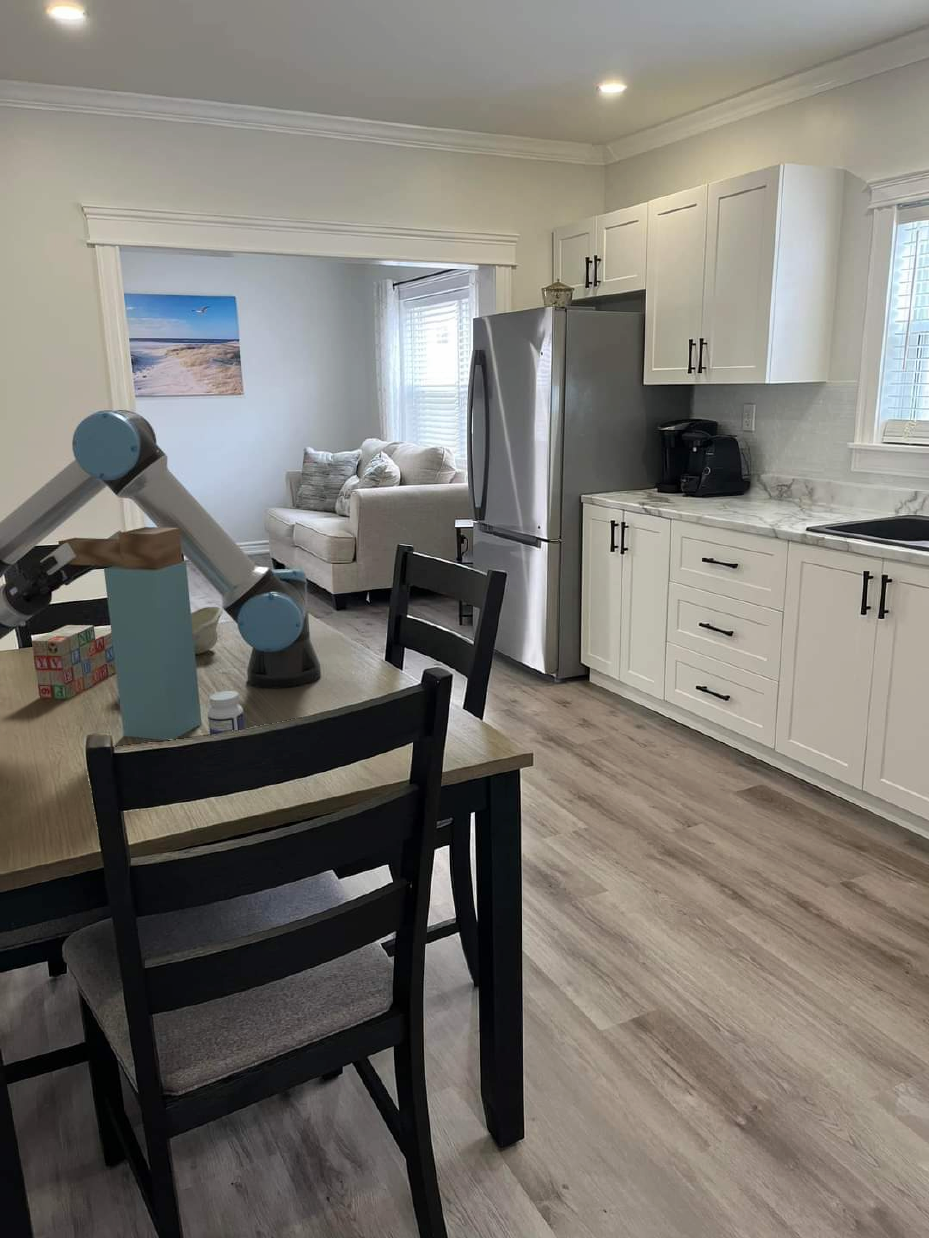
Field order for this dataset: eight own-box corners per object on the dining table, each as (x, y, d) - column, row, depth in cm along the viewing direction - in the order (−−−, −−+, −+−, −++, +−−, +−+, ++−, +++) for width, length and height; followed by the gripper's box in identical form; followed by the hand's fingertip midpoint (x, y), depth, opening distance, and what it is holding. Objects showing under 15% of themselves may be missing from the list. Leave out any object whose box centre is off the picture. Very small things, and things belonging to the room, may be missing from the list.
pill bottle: (232, 742, 160) (227, 687, 157) (253, 749, 156) (249, 693, 154) (204, 752, 155) (199, 696, 153) (225, 760, 152) (220, 702, 150)
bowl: (159, 649, 220) (155, 608, 218) (219, 641, 226) (215, 601, 224) (168, 664, 207) (163, 621, 205) (231, 656, 213) (228, 613, 210)
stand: (201, 723, 169) (185, 561, 162) (172, 740, 161) (154, 570, 154) (155, 718, 172) (137, 559, 165) (123, 735, 164) (103, 568, 157)
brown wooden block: (182, 562, 161) (179, 528, 160) (157, 569, 155) (154, 534, 153) (82, 558, 168) (78, 525, 166) (55, 565, 161) (50, 531, 160)
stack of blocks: (98, 668, 207) (91, 614, 204) (124, 668, 206) (117, 614, 203) (39, 698, 186) (30, 639, 183) (67, 700, 185) (59, 640, 182)
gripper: (79, 601, 182) (153, 550, 173) (-22, 633, 159) (57, 575, 150) (59, 567, 181) (132, 515, 173) (-45, 594, 158) (33, 535, 150)
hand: (98, 543), depth 162 cm, fingers open, 13 cm apart
